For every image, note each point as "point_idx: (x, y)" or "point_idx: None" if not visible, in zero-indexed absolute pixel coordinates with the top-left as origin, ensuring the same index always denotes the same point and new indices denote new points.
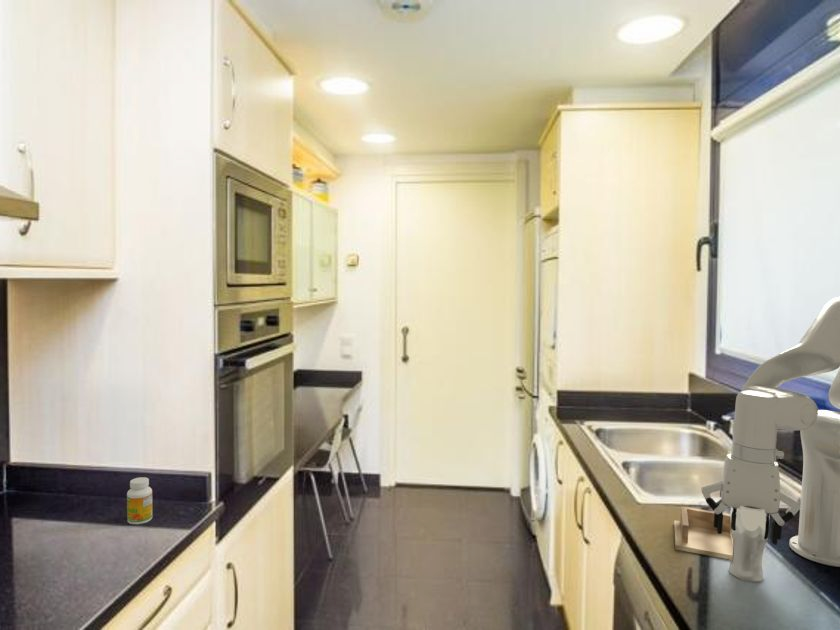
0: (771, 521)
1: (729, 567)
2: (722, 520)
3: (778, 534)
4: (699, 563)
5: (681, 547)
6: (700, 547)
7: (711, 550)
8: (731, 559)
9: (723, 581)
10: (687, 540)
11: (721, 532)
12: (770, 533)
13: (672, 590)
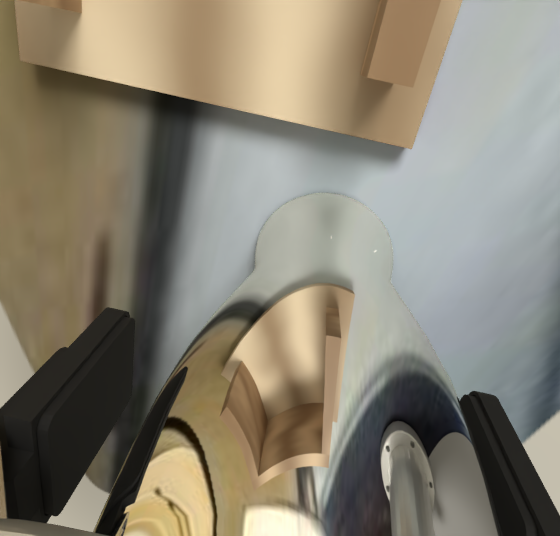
0: (522, 519)
1: (256, 246)
2: (76, 482)
3: None
4: (144, 195)
5: (56, 67)
6: (149, 56)
7: (205, 85)
8: (256, 262)
9: None
10: (69, 9)
11: (125, 402)
12: (475, 424)
13: None
